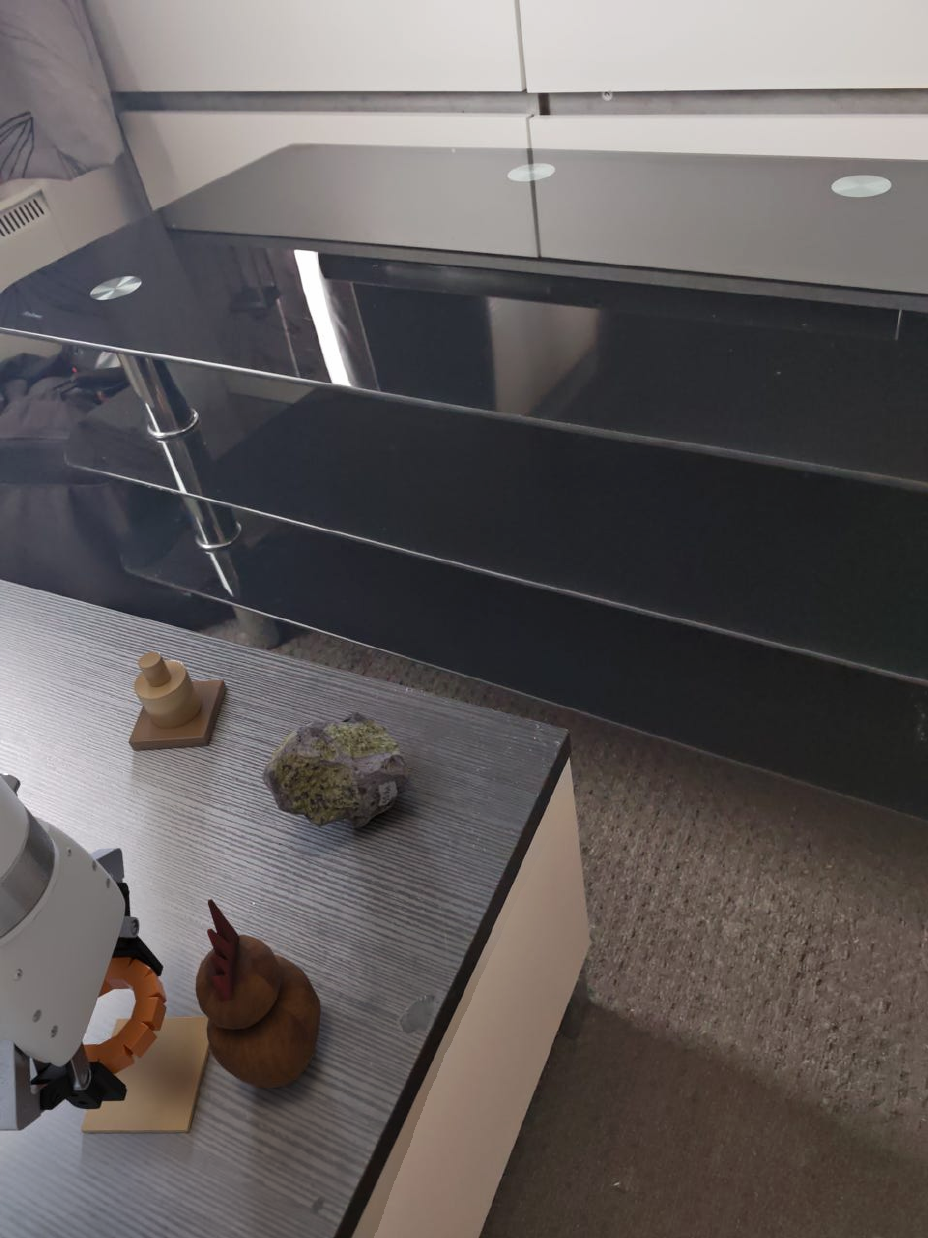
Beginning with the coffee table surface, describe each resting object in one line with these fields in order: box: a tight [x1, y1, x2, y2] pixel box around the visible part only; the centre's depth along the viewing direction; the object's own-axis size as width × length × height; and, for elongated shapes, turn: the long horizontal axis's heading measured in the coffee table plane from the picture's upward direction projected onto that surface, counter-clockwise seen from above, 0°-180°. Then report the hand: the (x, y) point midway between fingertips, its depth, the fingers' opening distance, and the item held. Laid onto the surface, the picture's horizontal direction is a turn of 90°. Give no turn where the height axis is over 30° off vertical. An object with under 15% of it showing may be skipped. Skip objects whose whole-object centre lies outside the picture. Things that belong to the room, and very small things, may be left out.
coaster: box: [80, 1016, 211, 1134], centre depth 59 cm, size 7×7×1 cm
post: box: [127, 650, 228, 751], centre depth 80 cm, size 7×7×8 cm
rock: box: [260, 711, 410, 829], centre depth 69 cm, size 11×10×10 cm
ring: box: [83, 957, 168, 1074], centre depth 54 cm, size 7×7×1 cm
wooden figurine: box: [195, 898, 322, 1089], centre depth 54 cm, size 7×6×15 cm
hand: (121, 1031), depth 56 cm, fingers closed on ring, 6 cm apart
